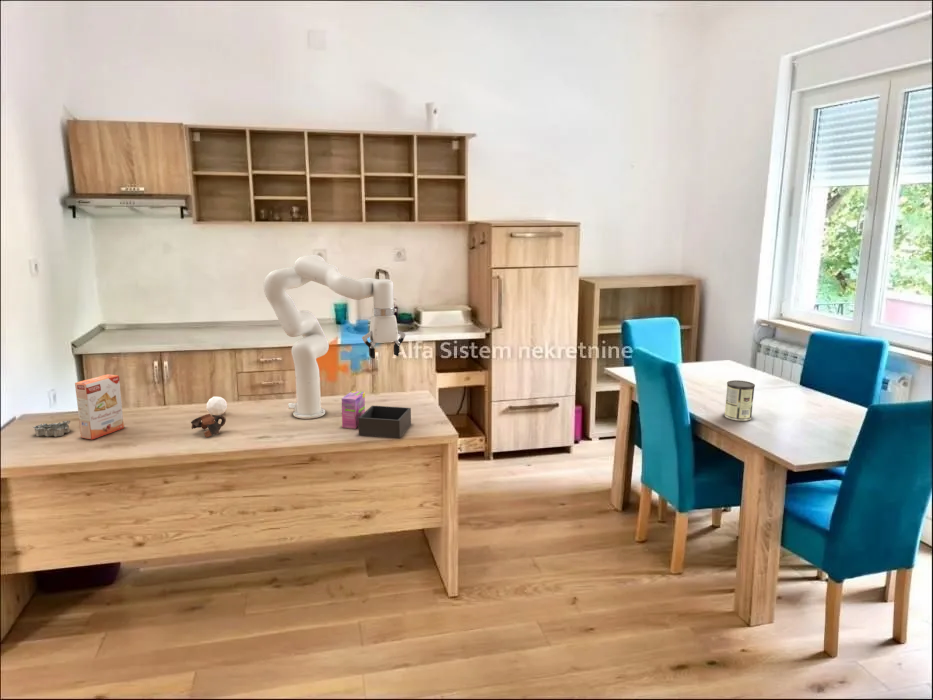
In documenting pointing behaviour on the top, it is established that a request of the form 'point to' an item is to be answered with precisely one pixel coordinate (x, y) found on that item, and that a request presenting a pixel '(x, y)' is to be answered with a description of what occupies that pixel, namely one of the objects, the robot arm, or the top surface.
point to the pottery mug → (209, 424)
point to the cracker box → (99, 406)
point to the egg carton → (52, 429)
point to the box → (352, 409)
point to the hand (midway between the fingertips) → (384, 356)
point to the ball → (216, 406)
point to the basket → (384, 421)
